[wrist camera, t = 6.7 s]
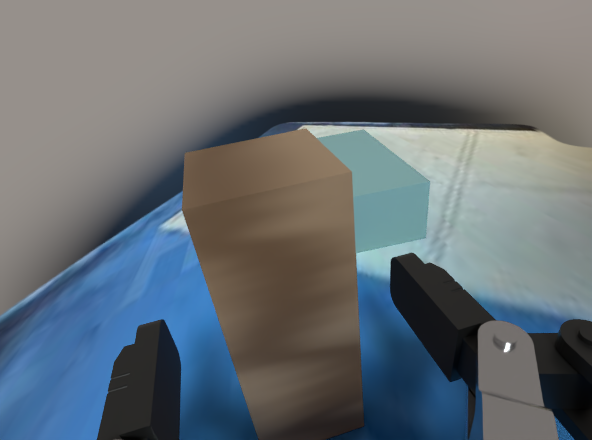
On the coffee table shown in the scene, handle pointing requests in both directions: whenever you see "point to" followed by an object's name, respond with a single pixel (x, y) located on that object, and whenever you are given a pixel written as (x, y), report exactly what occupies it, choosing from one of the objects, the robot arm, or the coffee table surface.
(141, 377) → the robot arm
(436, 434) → the coffee table surface
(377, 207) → the teal block
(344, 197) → the walnut pillar
